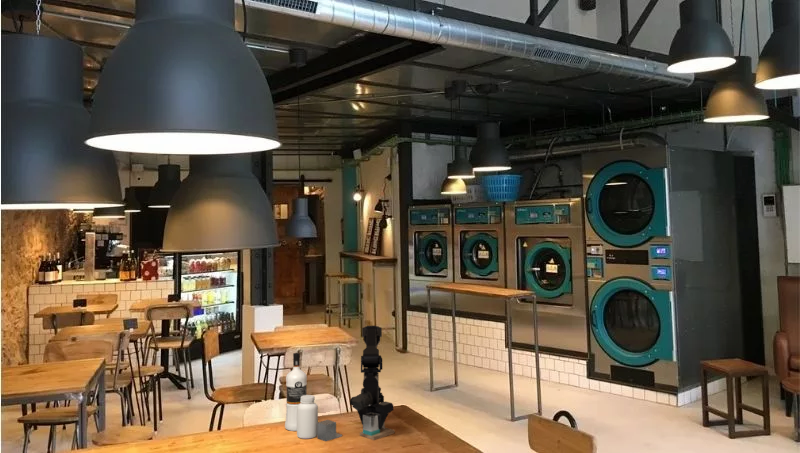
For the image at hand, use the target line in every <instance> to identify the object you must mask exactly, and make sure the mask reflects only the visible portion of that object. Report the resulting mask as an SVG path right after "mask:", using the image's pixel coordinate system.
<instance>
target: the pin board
mask: <svg viewBox="0 0 800 453" xmlns="http://www.w3.org/2000/svg"><path fill="white" fill-rule="evenodd" d="M385 423H386V421H385V422H384V424H383V426H382V428H381V429H380V433H378V434H375V435H372V436H370V435H367V434H364V433H363V431H360V432H359V437H363V438H367V439H369V440H372V441H376V440H379V439H381V438H385V437H387V436H391V435H393V434H395V429H392V428H388V427H386V424H385Z"/></svg>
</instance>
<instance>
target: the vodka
mask: <svg viewBox="0 0 800 453" xmlns="http://www.w3.org/2000/svg"><path fill="white" fill-rule="evenodd" d="M292 355H293V356H292V358H293V359H292V362H293V363H292V364H293V365H292V366H293V367H292V370H290V371H289V372H288V373H287V374H286V376H285V381H286V383H285V386H286V403H285V407H286V408H285V410H286V412H285V422H284V428H285V429H286V430H287V431H289V432H297V406H298V405H299V404H300V403H301V402H300V401H301V396H303V395H308V394H307V385H308V382H307V381H308V380H307V379H308V376H307V373H306V372H305V371H303V370H302V369H301V368H300V367H301V366H300V365H301V364H300V360H301V359H300V357H301V356H300V352H294V353H293V354H292Z"/></svg>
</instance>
